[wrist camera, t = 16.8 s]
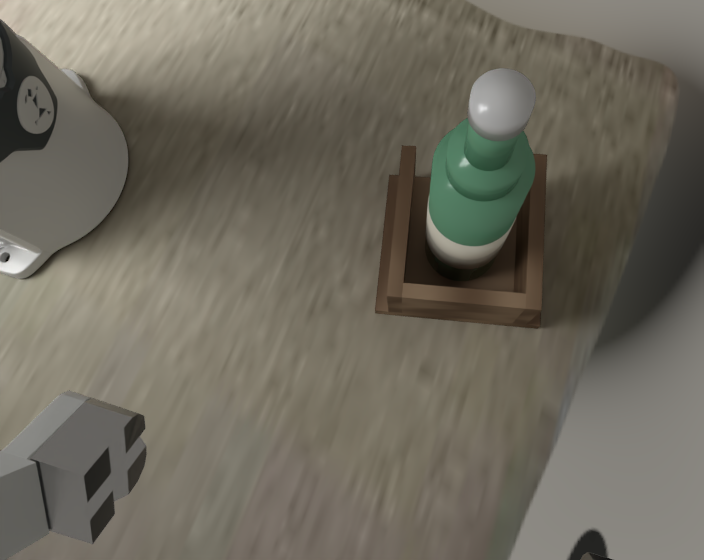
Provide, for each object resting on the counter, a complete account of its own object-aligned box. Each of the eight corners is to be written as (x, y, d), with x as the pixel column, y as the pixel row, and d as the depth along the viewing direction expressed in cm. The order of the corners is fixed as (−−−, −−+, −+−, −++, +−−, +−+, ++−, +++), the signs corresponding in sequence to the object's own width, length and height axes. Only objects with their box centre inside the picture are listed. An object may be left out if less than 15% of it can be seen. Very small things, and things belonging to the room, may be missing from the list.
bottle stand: (375, 313, 46) (371, 294, 40) (389, 180, 48) (387, 144, 43) (537, 328, 44) (557, 311, 39) (542, 190, 47) (561, 155, 41)
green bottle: (421, 279, 45) (432, 152, 25) (426, 210, 46) (441, 37, 26) (496, 284, 44) (569, 159, 24) (499, 214, 46) (571, 41, 26)
